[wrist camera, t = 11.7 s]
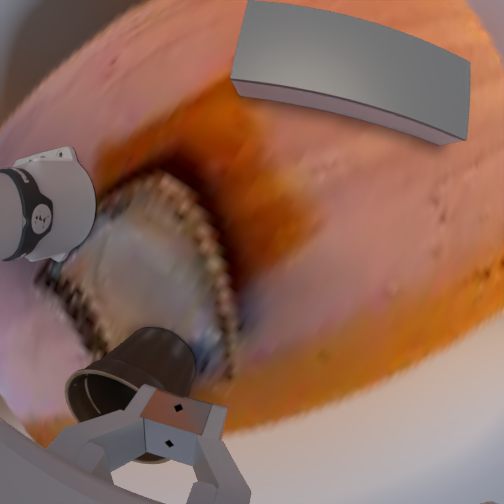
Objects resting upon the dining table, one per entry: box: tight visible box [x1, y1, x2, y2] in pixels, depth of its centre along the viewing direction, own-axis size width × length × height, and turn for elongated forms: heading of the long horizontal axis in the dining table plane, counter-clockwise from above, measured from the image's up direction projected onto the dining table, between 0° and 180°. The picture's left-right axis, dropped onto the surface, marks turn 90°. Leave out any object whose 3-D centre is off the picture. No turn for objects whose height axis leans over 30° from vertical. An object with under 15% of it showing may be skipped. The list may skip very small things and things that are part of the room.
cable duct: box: [232, 80, 462, 146], centre depth 31 cm, size 28×11×6 cm, turn 79°
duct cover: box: [230, 0, 470, 141], centre depth 27 cm, size 28×11×1 cm, turn 79°
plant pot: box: [65, 327, 196, 464], centre depth 38 cm, size 16×16×16 cm
